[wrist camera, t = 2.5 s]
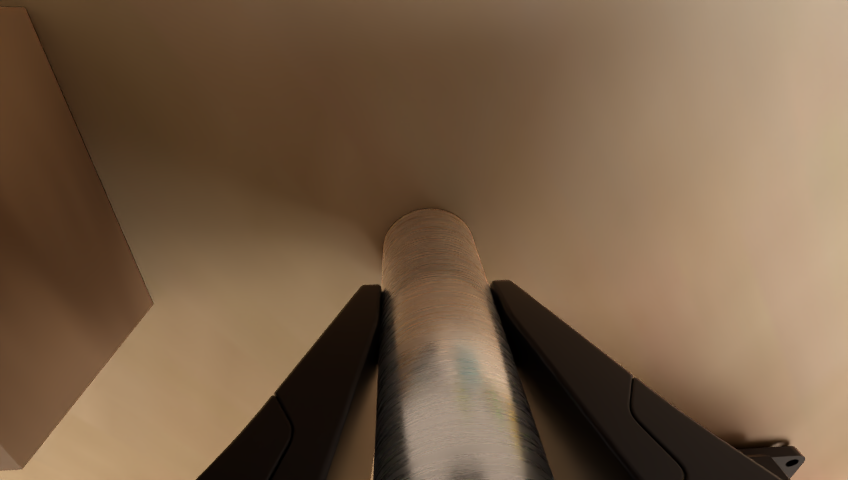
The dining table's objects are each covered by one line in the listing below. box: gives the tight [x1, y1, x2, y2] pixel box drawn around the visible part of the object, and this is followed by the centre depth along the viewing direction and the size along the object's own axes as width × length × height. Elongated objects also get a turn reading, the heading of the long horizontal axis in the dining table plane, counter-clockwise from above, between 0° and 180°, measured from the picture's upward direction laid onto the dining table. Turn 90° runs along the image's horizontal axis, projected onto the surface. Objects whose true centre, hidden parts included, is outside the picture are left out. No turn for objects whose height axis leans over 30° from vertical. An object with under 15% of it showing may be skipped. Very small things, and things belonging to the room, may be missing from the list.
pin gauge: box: [373, 209, 554, 480], centre depth 7 cm, size 2×2×8 cm
